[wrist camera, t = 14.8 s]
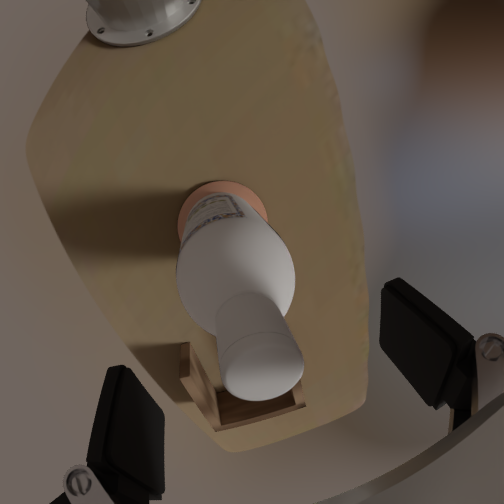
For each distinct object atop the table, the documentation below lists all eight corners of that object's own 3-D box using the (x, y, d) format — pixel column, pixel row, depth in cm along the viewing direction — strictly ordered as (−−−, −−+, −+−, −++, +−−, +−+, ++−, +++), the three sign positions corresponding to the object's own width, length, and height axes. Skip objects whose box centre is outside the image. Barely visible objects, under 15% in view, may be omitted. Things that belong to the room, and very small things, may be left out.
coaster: (166, 196, 26) (165, 197, 25) (254, 170, 26) (255, 170, 26) (194, 276, 29) (194, 279, 29) (274, 252, 30) (276, 254, 29)
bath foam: (174, 241, 27) (135, 405, 8) (206, 178, 25) (219, 243, 7) (234, 269, 29) (287, 438, 10) (268, 212, 28) (390, 326, 9)
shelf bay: (180, 344, 32) (179, 378, 26) (278, 316, 33) (293, 346, 27) (211, 400, 36) (215, 431, 31) (293, 376, 37) (305, 406, 32)
